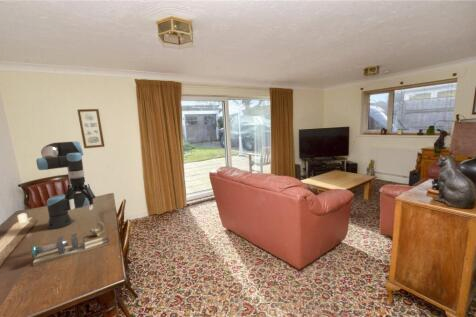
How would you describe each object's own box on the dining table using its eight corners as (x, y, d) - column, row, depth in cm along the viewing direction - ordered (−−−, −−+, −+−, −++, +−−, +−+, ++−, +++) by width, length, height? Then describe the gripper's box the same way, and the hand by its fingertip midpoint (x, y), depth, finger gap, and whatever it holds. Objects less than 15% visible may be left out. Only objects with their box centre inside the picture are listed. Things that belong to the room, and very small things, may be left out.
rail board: (36, 257, 128) (36, 254, 128) (108, 238, 148) (108, 236, 148) (33, 265, 120) (32, 263, 120) (109, 244, 140) (109, 242, 140)
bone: (88, 237, 147) (89, 222, 151) (90, 238, 152) (90, 224, 156) (103, 234, 151) (103, 220, 155) (104, 236, 156) (104, 222, 160)
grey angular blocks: (60, 250, 134) (58, 236, 133) (108, 238, 148) (106, 225, 147) (58, 258, 126) (56, 243, 125) (109, 244, 140) (107, 230, 139)
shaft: (32, 259, 121) (30, 248, 120) (34, 254, 126) (32, 244, 125) (67, 250, 130) (66, 239, 129) (68, 245, 135) (67, 235, 134)
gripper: (54, 178, 137) (59, 211, 140) (89, 178, 133) (93, 211, 136) (65, 176, 145) (70, 206, 147) (99, 175, 140) (103, 207, 143)
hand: (81, 209), depth 142 cm, fingers open, 13 cm apart
